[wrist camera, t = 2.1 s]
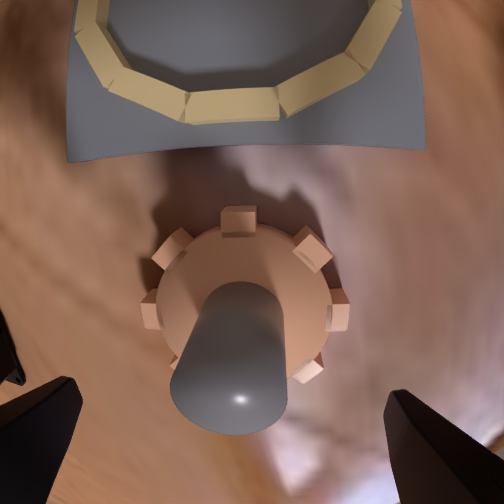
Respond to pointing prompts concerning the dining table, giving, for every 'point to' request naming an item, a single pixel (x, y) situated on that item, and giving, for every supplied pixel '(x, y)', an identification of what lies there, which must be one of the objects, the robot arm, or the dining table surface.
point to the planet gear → (242, 318)
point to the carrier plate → (241, 75)
